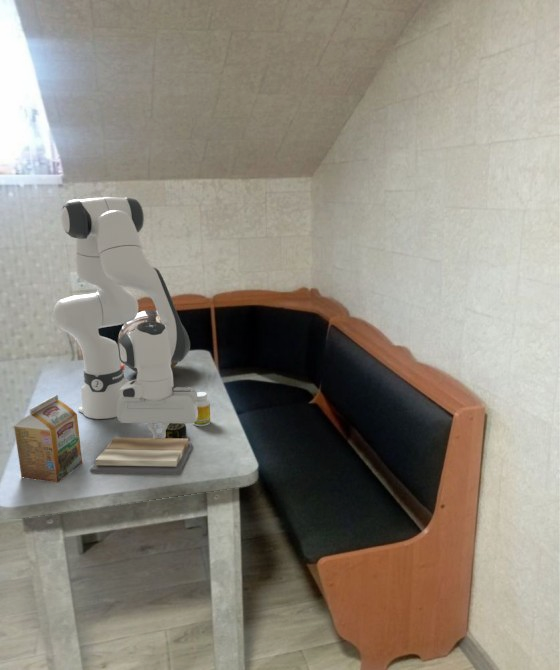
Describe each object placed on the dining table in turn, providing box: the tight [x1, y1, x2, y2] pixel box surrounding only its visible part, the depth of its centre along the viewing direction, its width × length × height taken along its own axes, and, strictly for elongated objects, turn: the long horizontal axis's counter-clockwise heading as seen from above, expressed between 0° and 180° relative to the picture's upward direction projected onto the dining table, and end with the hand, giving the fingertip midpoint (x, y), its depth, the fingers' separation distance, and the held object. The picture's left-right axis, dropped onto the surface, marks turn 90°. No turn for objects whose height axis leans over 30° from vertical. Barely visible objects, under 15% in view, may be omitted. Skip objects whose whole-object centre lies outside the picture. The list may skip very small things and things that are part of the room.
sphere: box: [117, 309, 179, 373], centre depth 221 cm, size 25×25×25 cm
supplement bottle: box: [192, 391, 211, 427], centre depth 176 cm, size 5×5×10 cm
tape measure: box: [161, 423, 187, 439], centre depth 167 cm, size 7×7×4 cm
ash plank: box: [95, 448, 183, 467], centre depth 151 cm, size 7×21×2 cm, turn 86°
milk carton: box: [13, 394, 83, 484], centre depth 147 cm, size 11×11×19 cm
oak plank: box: [105, 437, 190, 455], centre depth 158 cm, size 7×21×2 cm, turn 86°
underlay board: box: [90, 442, 193, 475], centre depth 154 cm, size 16×23×1 cm
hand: (159, 437), depth 148 cm, fingers closed
